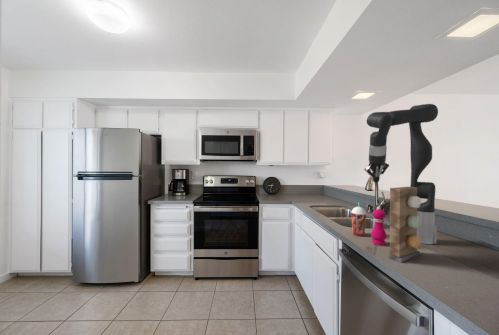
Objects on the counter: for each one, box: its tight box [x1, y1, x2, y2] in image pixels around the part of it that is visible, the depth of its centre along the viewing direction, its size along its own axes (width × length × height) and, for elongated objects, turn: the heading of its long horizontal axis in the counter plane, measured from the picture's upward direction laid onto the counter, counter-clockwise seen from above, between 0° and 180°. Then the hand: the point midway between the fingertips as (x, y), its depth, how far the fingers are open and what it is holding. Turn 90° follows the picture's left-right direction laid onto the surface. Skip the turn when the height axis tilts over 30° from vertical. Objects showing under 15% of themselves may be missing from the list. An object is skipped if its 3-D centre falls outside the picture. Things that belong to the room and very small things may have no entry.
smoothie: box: [350, 202, 367, 237], centre depth 131 cm, size 8×8×20 cm
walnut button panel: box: [388, 186, 421, 263], centre depth 100 cm, size 5×17×32 cm, turn 120°
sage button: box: [407, 216, 420, 228], centre depth 97 cm, size 3×5×5 cm, turn 120°
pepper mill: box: [370, 206, 387, 247], centre depth 116 cm, size 7×7×20 cm
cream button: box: [407, 196, 422, 208], centre depth 96 cm, size 3×5×5 cm, turn 120°
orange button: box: [407, 235, 421, 249], centre depth 97 cm, size 3×5×5 cm, turn 120°
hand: (375, 181), depth 115 cm, fingers closed
